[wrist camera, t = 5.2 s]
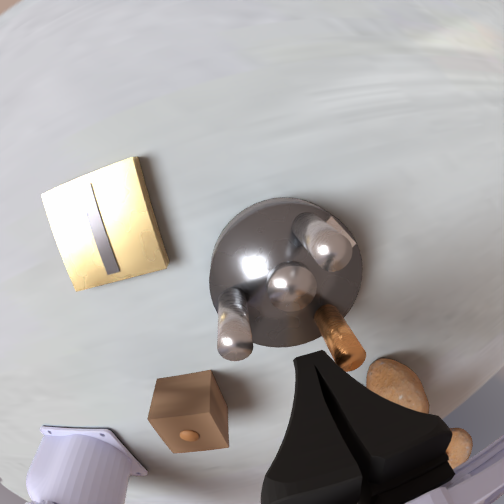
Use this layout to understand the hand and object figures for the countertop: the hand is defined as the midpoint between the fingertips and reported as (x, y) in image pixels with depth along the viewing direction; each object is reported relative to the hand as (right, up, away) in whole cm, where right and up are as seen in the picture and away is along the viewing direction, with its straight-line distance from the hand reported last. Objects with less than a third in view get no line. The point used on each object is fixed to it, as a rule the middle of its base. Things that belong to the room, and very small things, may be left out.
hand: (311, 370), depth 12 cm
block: (-7, -5, +7) cm, 11 cm away
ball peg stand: (-1, +4, +4) cm, 6 cm away
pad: (-11, +7, +3) cm, 13 cm away
